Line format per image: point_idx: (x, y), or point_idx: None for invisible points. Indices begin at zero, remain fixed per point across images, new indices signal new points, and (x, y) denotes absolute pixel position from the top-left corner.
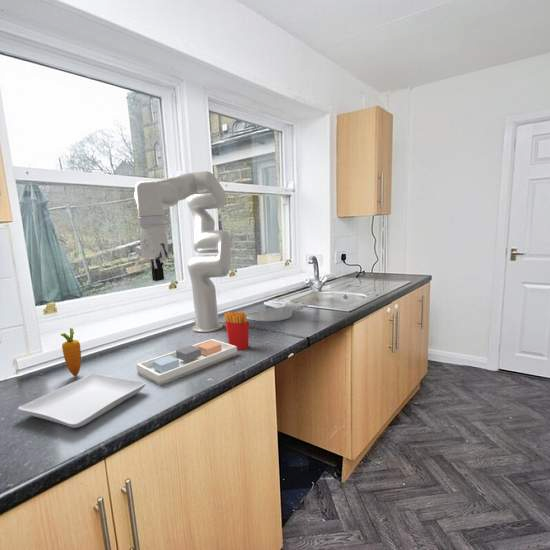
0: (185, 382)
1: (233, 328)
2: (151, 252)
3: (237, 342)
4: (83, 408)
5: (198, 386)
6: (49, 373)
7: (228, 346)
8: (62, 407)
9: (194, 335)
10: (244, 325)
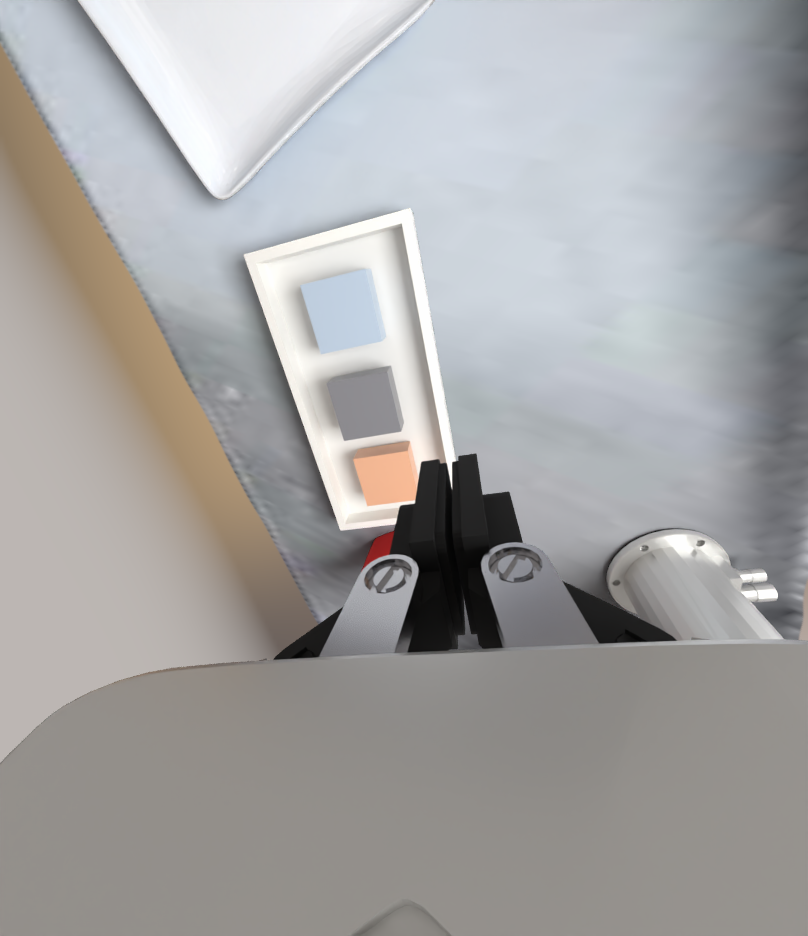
0: (244, 331)
1: None
2: (38, 883)
3: (379, 548)
4: None
5: (201, 350)
6: None
7: (368, 518)
8: None
9: (633, 510)
10: None
